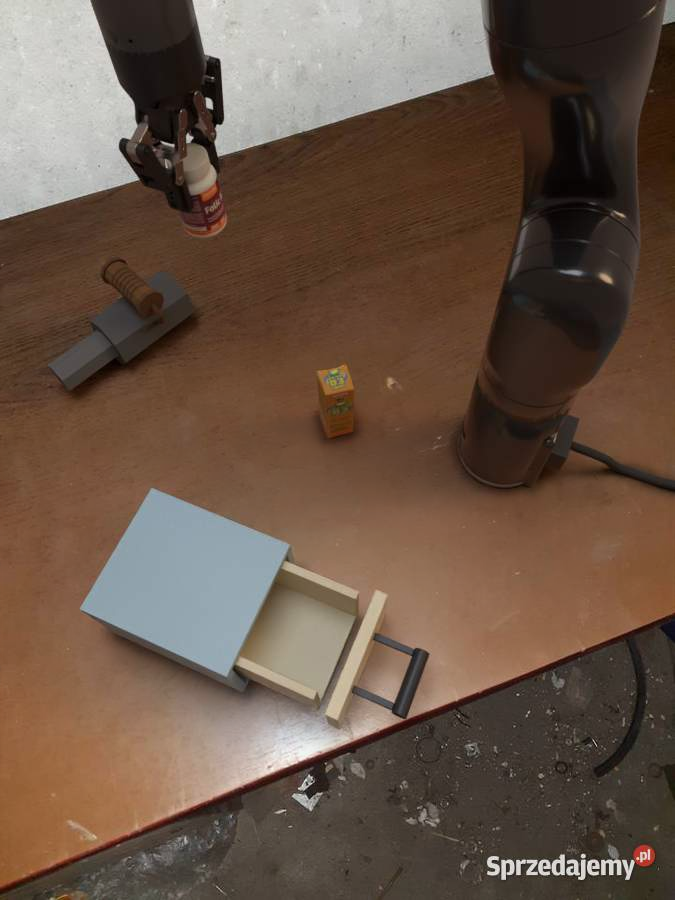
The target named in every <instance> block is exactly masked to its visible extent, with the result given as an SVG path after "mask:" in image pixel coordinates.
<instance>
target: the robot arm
mask: <svg viewBox="0 0 675 900" xmlns="http://www.w3.org/2000/svg"><path fill="white" fill-rule="evenodd" d="M89 1H90V4H91V7H92V10H93V13H94V16H95V18H96V21H97V24H98V27H99V31H100V32H101V36H102V39H103V42H104V44H105V47H106V50H107V52H108V56H109V58H110V61H111V64H112V67H113V69H114V72H115V75H116V78H117V81H118V83H119V85H120V87H121V88H122V89H123V91H124V92H125V93H126V94H127V95H128V96H129V98H130V99H131V101H132V102H133V106H134V120H135V123H136V128H135V129H134V131H133V134H132V136H131V138H126V137H122V138H120V140H119V141H118V150H119V152H120V154H121V155H122V156H123V158H124V159H125V160H126V162H127V164H128V165H129V167H130V168H131V170H132V171H133V172H134V173H135V175H136V177H137V178H138V179H139V181H140V182H141V184H142V185H143V186H144V187H145V188H149V189H153V190H156V191H158V192H162V193H164V194H165V198H166V201H167V204H168V207H170V208H171V209H172V210H176V211H178V210H179V211H182V212H185V213H190V212H191V210H192V209H193V208H194V206H193V202H192V199H191V196H190V192H189V189H188V186H187V182H186V179H184V168H183V159H185V158H186V157H187V143H188V142H187V135H189V137H191V138H192V139H191V140H190V142H189V143H195V144H199V145H201V146H202V147H204V148H205V149H206V151H207V153H208V157H209V160H210V164H211V165H212V166H213V167H214V169H215V171H216V173H217V176H218V175H219V174H220V172H221V168H220V165H219V156H218V151H217V147H216V143H215V142H216V140H217V135H218V133H217V129H216V128H217V125H218V126H222V125H223V124H224V121H225V105H224V92H223V76H222V75H223V73H222V62H221V59H220V58H218V57H215V56H212V55H209V54H205V50H204V45H203V40H202V36H201V31H200V28H199V23H198V18H197V13H196V10H195V4H194V1H193V0H89ZM666 4H667V0H480V6H481V18H482V26H483V31H484V37H485V42H486V43H485V44H486V47H487V53H488V57H489V58H488V59H489V62H490V65H491V68H492V72H493V74H494V77H495V80H496V83H497V84H498V87H499V89H500V91H501V94H502V95H503V97H504V99H505V101H506V103H507V104H508V107H509V108H510V110H511V112H512V114H513V116H514V119H515V121H516V123H517V126H518V129H519V133H520V137H521V143H522V144H521V145H522V159H523V160H522V167H523V168H522V173H523V174H522V193H521V195H522V196H521V207H520V215H519V220H518V225H517V229H516V232H515V236H514V240H513V244H512V248H511V251H510V254H509V259H508V263H507V266H506V269H505V274H504V277H503V281H502V284H501V287H500V292H499V295H498V299H497V302H496V305H495V309H494V313H493V316H492V320H491V323H490V327H489V331H488V334H487V338H486V340H485V343H484V349H483V352H482V354H481V355H482V356H481V360H480V363H479V367H478V370H477V374H476V377H475V381H474V384H473V388H472V390H471V391H472V392H471V395H470V399H469V402H468V406H467V409H466V412H465V416H464V418H463V421H462V424H461V428H460V430H459V434H458V436H457V438H456V439H457V440H456V441H457V445H456V446H457V455H458V458H459V461H460V463H461V465H462V467H463V468H464V469H465V471H466V473H468V474H469V475H470V476H471V477H472V478H473V479H475V480H476V481H478V482H480V483H481V484H483V485H486V486H489V487H493V488H497V489H498V488H499V489H511V488H515V487H519V486H521V485H523V486H527V487H530V488H531V487H534V485H535V483H536V481H537V479H538V478H539V475H540V474H541V472H542V470H543V468H544V467H545V466H546V467H549V468H551V469H554V470H557V471H561V469H562V467H563V466H564V464H565V462H566V461H567V459H568V457H569V453H570V451H572V452H575V453H577V454H580V455H582V456H584V457H588V458H591V459H593V460H595V461H598V462H600V463H602V464H604V465H605V466H607V467H609V469H611V470H613V471H615V472H617V473H619V474H622V475H624V476H627V477H629V478H633V479H635V480H638V481H641V482H644V483H647V484H651V485H654V486H657V487H660V488H665V489H669V490H674V491H675V480H674V479H669V478H664V477H661V476H657V475H654V474H651V473H647V472H644V471H642V470H639V469H636V468H633V467H630V466H628V465H626V464H622V463H621V462H618V461H617V460H615V459H614V458H613V457H611V456H610V455H608V454H606V453H604V452H602V451H600V450H598V449H595V448H592V447H591V446H587V445H585V444H583V443H579V442H577V441H574V438H575V435H576V431H577V429H578V426H579V422H580V418H578V417H576V416H573V415H570V414H569V412H570V410H571V408H572V407H573V405H574V404H575V401H576V400H577V397H578V395H579V394H580V392H581V390H582V388H584V387H585V386H588V385H589V384H590V383H591V382H592V381H593V380H594V379H595V378H596V376H597V375H598V373H600V370H601V369H602V367H603V366H604V364H605V362H606V361H607V360H608V358H609V356H610V354H611V353H612V351H613V350H614V348H615V346H616V345H617V343H618V341H619V340H620V338H621V336H622V334H623V332H624V330H625V329H626V326H627V323H628V321H629V318H630V316H631V311H632V307H633V301H634V300H633V299H634V293H635V288H636V281H637V275H638V268H639V262H640V256H641V248H642V247H641V246H642V233H641V232H642V231H641V216H640V202H639V201H640V200H639V186H638V185H639V184H638V134H639V124H640V120H641V119H640V118H641V115H642V110H643V107H644V103H645V99H646V96H647V92H648V89H649V85H650V83H651V79H652V76H653V72H654V67H655V63H656V58H657V54H658V50H659V45H660V38H661V34H662V29H663V23H664V17H665V12H666ZM207 99H209V100H210V101H211V102H212V108H209V107H207ZM168 144H169V145H168ZM171 145H173V146H171ZM166 159H167V160H169V161H170V162H171V165H172V169H168V167H167V163H166Z"/></svg>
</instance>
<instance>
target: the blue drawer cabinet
mask: <svg viewBox="0 0 675 900" xmlns="http://www.w3.org/2000/svg"><path fill="white" fill-rule="evenodd" d="M126 528H127V529H126V530H125V531H124V534H123V535H122V537H121V538H120V540H119V541H118V543H117V545H116V547H115V548H114V550H113V552H112V553H111V555H110V557H109V559H107V562H106V563H105V565H104V567H103V568H102V570H101V572H100V573H99V575H98V577H97V579H96V580H95V581H94V584H92V587H91V589H90V590H89V592H88V594H87V596H86V597H85V599H84V600H83V602H82V604H81V606H80V607H79V611H81V612H82V613H84V614H86V615H87V616H88V617H90V618H91V619H93V620H94V621H95V622H96V623H99V624H100V625H101V626H103V627H105V628H106V629H108V630H109V631H110V632H112V633H113V634H115V635H118V636H120V637H122V638H124V639H126V640H129V641H130V642H133V643H134V644H137V645H139V646H141V647H143V648H146V649H147V650H150V651H152V652H155V653H156V654H158V655H161V656H163V657H165V658H168V659H169V660H171V661H173V662H176V663H178V664H180V665H182V666H185V667H186V668H189V669H191V670H193V671H195V672H197V673H199V674H202V675H204V676H205V677H207V678H210V679H213V680H215V681H217V682H219V683H222V684H223V685H226V686H228V687H230V688H232V689H234V690H236V691H239V692H241V693H243V694H244V693H245V691H246V689H247V687H248V684H249V682H250V680H251V679H249V678H247V677H245V676H242V675H240V674H238V673H236V672H234V671H233V670H232V669H233V667H234V665H235V663H236V661H237V659H238V657H239V655H240V652H241V650H242V648H243V646H244V644H245V642H246V640H247V638H248V636H249V634H250V632H251V630H252V627H253V625H254V623H255V621H256V619H257V617H258V615H259V613H260V611H261V609H262V607H263V605H264V602H265V600H266V598H267V596H268V594H269V592H270V590H271V588H272V586H273V584H274V582H275V580H276V577H277V575H278V573H279V571H280V569H281V567H282V565H283V563H284V561H287V562H289V563H292V564H294V565H296V561H295V557H294V554H293V551H292V546H291V544H290V543H288V542H285V541H283V540H282V539H281V540H280V539H278V538H276V537H273V536H271V535H268V534H266V533H264V532H261V531H258V530H256V529H254V528H251V527H249V526H246V525H244V524H241V523H239V522H237V521H234V520H232V519H229V518H227V517H224V516H223V515H219V514H217V513H215V512H212V511H211V510H207V509H204V508H202V507H200V506H197V505H195V504H193V503H190V502H187V501H185V500H182V499H180V498H177V497H175V496H172V495H170V494H168V493H165V492H163V491H160V490H158V489H156V488H153V487H151V488H150V490H149V491H148V493H147V494H146V496H145V498H144V500H143V502H142V503H141V505H140V507H139V508H138V509H137V511H136V513H135V515H134V517H133V519H132V520H131V522H130V523H129V525H128V527H126Z"/></svg>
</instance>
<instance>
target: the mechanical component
mask: <svg viewBox="0 0 675 900" xmlns="http://www.w3.org/2000/svg"><path fill="white" fill-rule="evenodd" d="M100 269H101V270H100V274H99V275H100V277H101V279H102V282H104V283H105V284H107V285H110V286H112V288H114V289H115V290H116V291H117V292H118V293H119V294H120V295H121V296H122V297H120V298H119V299H118V300H116V301H115V302H113V303H112V304H111V305H109V306H107V307H106V308H105V309H103V310H102V311H100V312H99V313H98V314H96V315H95V316H93V317H92V318H91V319H89V323H90V325H91V328H92V329H93V332H91V333H90V334H89V335H88V336H86V337H85V338H83V339H82V340H81V341H79V342H78V343H76V344H75V345H73V346H72V347H71V348H69V349H68V350H66V351H65V352H64V353H62V354H61V355H59V356H58V357H57V358H55V359H54V360H52V361H51V362H50V363H48V364H47V367H48V368H49V370H50V372H51V373H52V374H53V376H55V378H56V379H57V380H58V381H59V383H60V384H61V385H62V386H63V387H64V388H66V390H67V391H68V392H70V391H72V390H73V389H75V388H76V387H77V386H78V385H80V384H81V383H83V382H84V381H86V380H87V379H88V378H90V377H91V376H92V375H94V374H95V373H96V372H97V371H99V370H100V369H102V368H103V367H104V366H106V365H107V364H109V363H110V362H111V361H113V360H114V359H116V360H117V361H118V362H119V363H120V364H121V365H125V364H126V363H128V362H129V361H130V360H132V359H133V358H134V357H136V356H137V355H138V354H140V353H141V352H143V351H144V350H145V349H147V348H148V347H149V346H151V345H152V344H154V343H155V342H156V341H157V340H159V339H160V338H162V337H163V336H164V335H166V334H167V333H168V332H169V331H171V330H173V328H175V327H176V326H177V325H179V324H180V323H182V322H183V321H184V320H185V319H187V318H188V317H190V316H191V315H192V314H193V313H195V312H196V309H195V306H194V305H193V303H192V299H191V298H190V295H189V294H188V292H187V291H186V290H185V289H184V288H183V286H182V285H181V284H180V283H179V281H177V279H176V278H175V277H174V276H173V274H171V273H169V272H166V271H164V270H161V269H160V270H159V271H158V272H156V273H154V274H153V275H152V276H150V277H148V278H147V279H146V280H144V279H143V278H142V277H140V276H139V275H138V274H137V273H136V272H135V271H134V270H133V269H132V268H130V266H128V263H127V261H126V260H125V259H123V258H121V257H118V256H115V257H112V258H109V259H107V260H106V262H105V263H104V264H103V265H102V266H101V268H100Z"/></svg>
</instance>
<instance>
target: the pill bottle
mask: <svg viewBox="0 0 675 900" xmlns="http://www.w3.org/2000/svg"><path fill="white" fill-rule="evenodd" d="M165 163H166V168H168V169H172V165H171V162H170V161H169V160H167V159H165ZM183 168H184V179H186V182H187V186H188V189H189V192H190V196H191V199H192V202H193V206H194V208H193V209H192V210H191V212H190V213H185V212H182V211H179V210H177V212H178V215H179V219H180V221H181V225H182V227H183V229H184V231H185V232H186V233H187V234H188V235H190V236H192V237H194V238H197V239H207V238H208V239H209V238H212V237H214V236H216V235H218V234H219V233H221V232H222V231H223V230H224V229H225V228H226V225H227V223H228V215H227V211H226V207H225V204H224V199H223V194H222V191H221V186H220V182H219V178H218V175H217V173H216V171H215V169H214V167H213V166H212V165H211V164H210V160H209V157H208V153H207V151H206V149H205V148H204V147H202V146H201V145H199V144H195V143H190V142H187V157H186V158H185V159H183Z"/></svg>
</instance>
